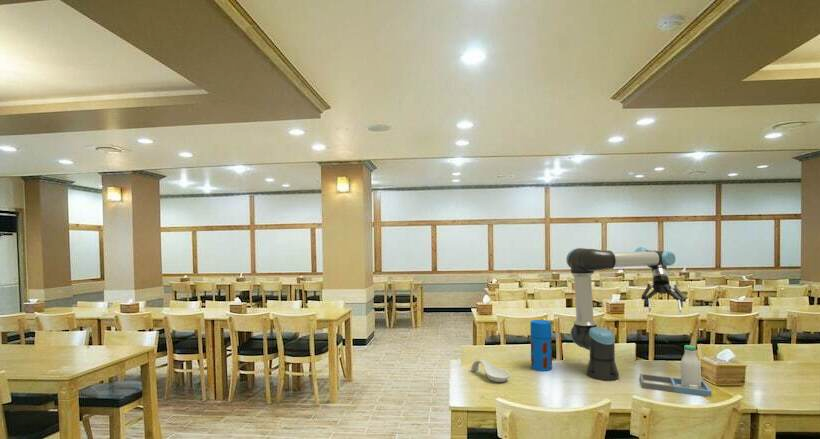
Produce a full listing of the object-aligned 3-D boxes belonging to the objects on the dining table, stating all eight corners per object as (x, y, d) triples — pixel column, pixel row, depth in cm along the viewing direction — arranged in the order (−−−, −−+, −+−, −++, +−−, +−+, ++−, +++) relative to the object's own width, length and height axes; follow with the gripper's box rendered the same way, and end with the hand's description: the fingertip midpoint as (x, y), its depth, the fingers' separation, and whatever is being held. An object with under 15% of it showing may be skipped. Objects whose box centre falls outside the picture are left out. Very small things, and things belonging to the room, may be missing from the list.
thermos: (554, 367, 228) (553, 321, 229) (549, 372, 219) (548, 324, 220) (534, 364, 234) (533, 319, 235) (528, 369, 225) (527, 322, 226)
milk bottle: (704, 393, 190) (703, 348, 191) (685, 391, 192) (684, 347, 193) (696, 387, 198) (695, 344, 199) (678, 386, 200) (677, 343, 200)
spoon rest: (514, 381, 207) (514, 367, 207) (497, 386, 201) (497, 371, 201) (482, 369, 227) (481, 355, 227) (465, 373, 220) (465, 359, 221)
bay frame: (642, 388, 197) (641, 379, 197) (639, 378, 210) (639, 370, 210) (711, 397, 186) (711, 387, 186) (704, 386, 198) (704, 378, 199)
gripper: (686, 284, 228) (692, 316, 214) (634, 282, 239) (637, 313, 225) (688, 275, 224) (694, 307, 210) (635, 273, 234) (637, 304, 220)
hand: (664, 310), depth 217 cm, fingers open, 13 cm apart
